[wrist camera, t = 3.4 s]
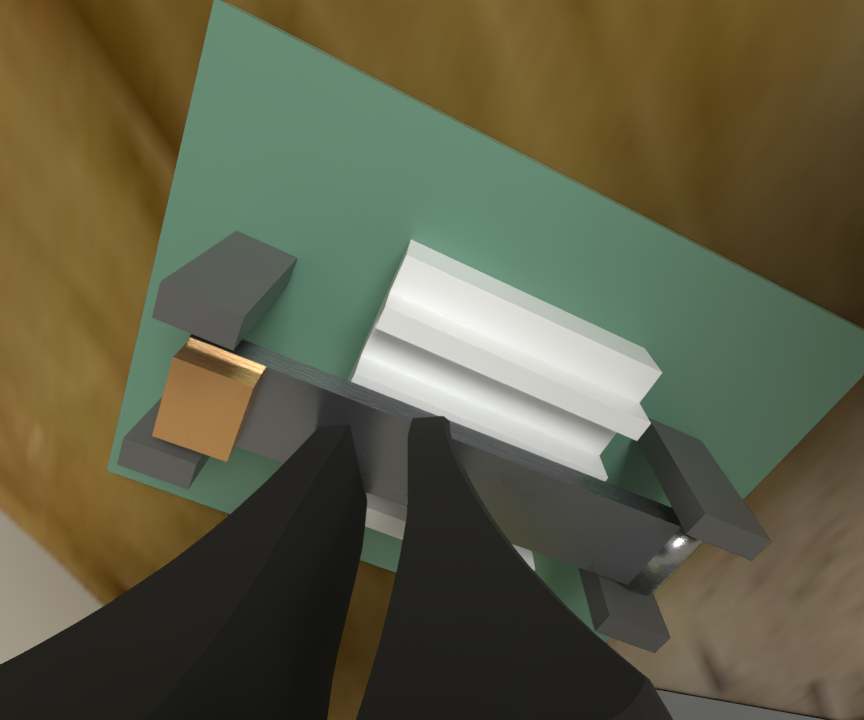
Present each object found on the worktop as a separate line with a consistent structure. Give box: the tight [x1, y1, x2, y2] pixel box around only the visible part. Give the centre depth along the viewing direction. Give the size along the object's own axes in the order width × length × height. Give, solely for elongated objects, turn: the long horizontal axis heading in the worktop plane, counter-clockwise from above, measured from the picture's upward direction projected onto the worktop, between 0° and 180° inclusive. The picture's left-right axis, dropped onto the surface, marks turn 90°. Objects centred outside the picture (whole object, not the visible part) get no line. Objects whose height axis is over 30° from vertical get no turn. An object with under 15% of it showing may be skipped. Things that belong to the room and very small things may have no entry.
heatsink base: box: [107, 0, 864, 653], centre depth 13 cm, size 16×12×4 cm
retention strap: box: [152, 334, 702, 596], centre depth 11 cm, size 11×2×1 cm, turn 65°
